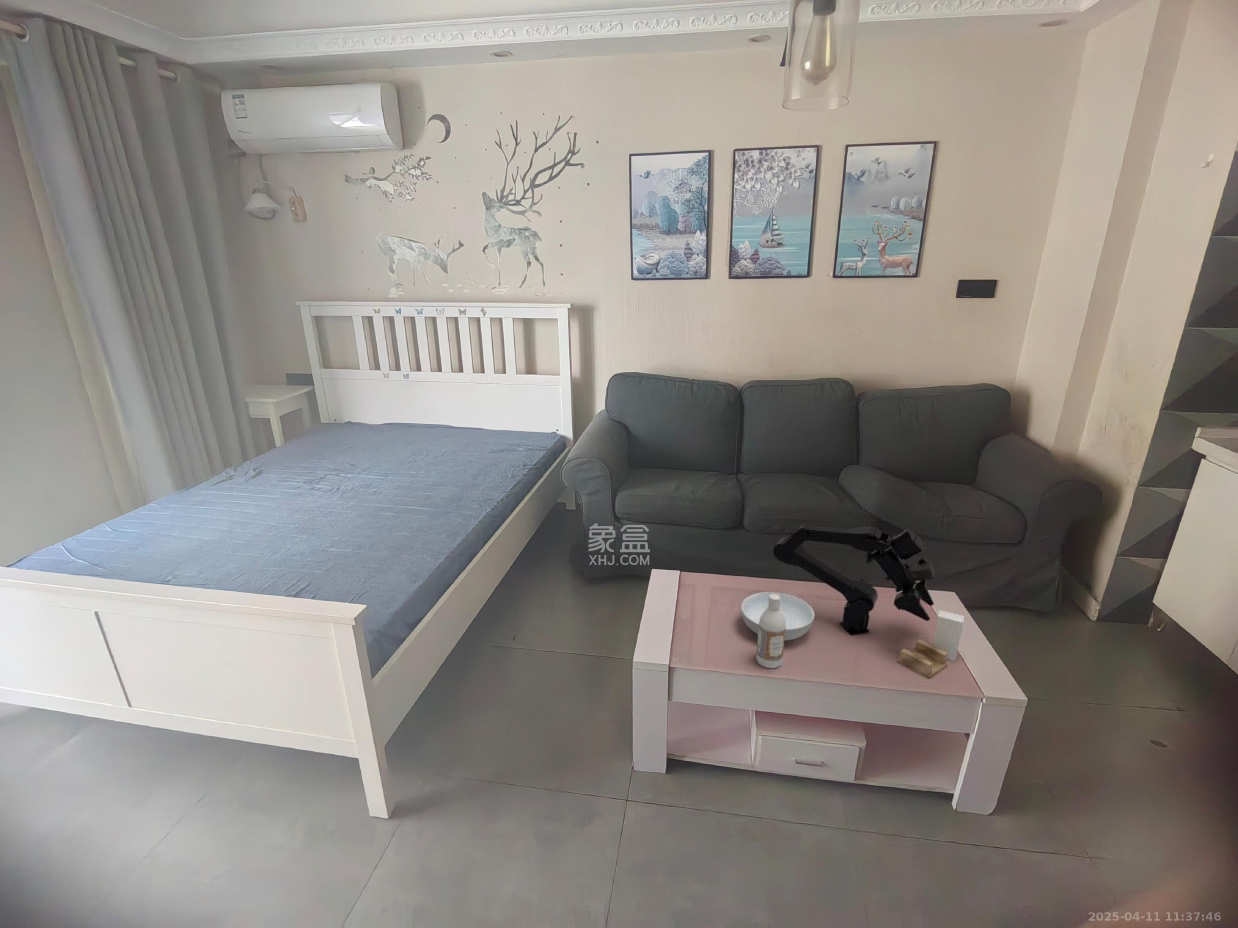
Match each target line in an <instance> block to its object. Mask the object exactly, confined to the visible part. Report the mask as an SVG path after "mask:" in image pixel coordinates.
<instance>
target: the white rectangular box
mask: <svg viewBox="0 0 1238 928" xmlns="http://www.w3.org/2000/svg"><path fill="white" fill-rule="evenodd" d="M964 618H965V616H964V615H961V614H957V613H953V612H948V611H945V610H942V609H939V611H938V616H937V621H936V626H935V632H934V638H933V642H932V643H933V644H932V646H934V647H936V648H938V649H941V650H943V651H945V652H947V653H948V656H947V660H951V661H954V662H956V661H957V655H958V650H959V646H960V640H961V636H962V630H963V626H964V625H963V624H964Z"/></svg>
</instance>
